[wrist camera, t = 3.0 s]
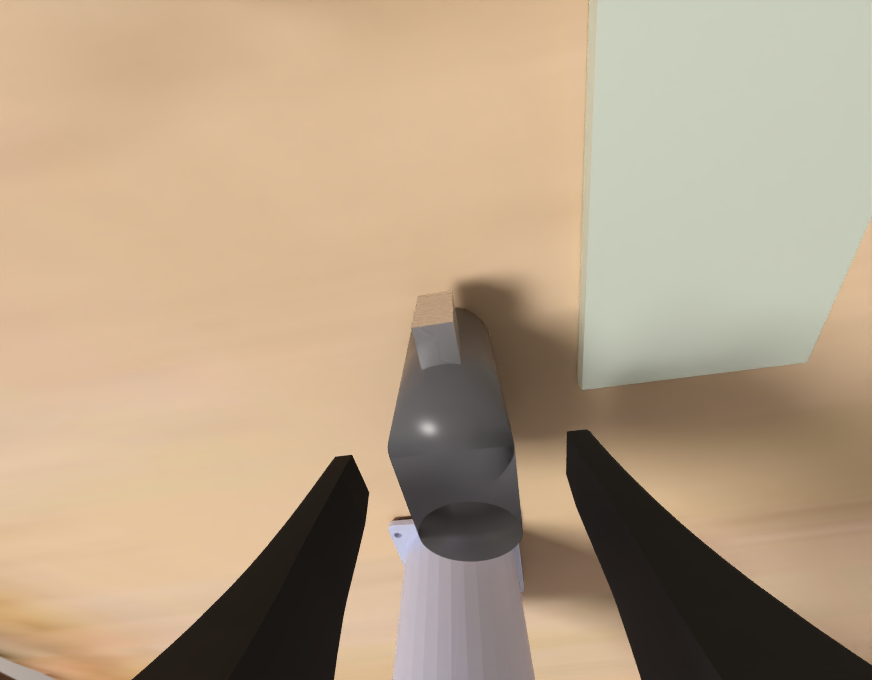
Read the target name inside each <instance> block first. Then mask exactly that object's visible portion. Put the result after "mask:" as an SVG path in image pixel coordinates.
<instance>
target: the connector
mask: <svg viewBox="0 0 872 680" xmlns="http://www.w3.org/2000/svg"><path fill="white" fill-rule="evenodd" d="M411 329H412V332H411V335H410V340H409V345H408V349H407V354H406V359H405V364H404V369H403V374H402V378H401V383H400V388H399V393H398V398H397V402H396V407H395V412H394V417H393V422H392V427H391V431H390V436H389V441H388V454H389V457H390V460H391V463H392V466H393V468H394V471H395V474H396V476H397V479H398V482H399V484H400V487H401V490H402V492H403V495H404V498H405V501H406V503H407V506H408V509H409V511H410V514H411V517H412V519H413V522H414V525H415V527H416V530H417V533H418V535H419V538H420V540H421V542H422V543H423V545H424V546H425V547H426V548H427V549H429V550H430V551H431V552H433V553H435V554H437V555H439V556H441V557H444V558H447V559H451V560H456V561H465V562H477V561H485V560H490V559H494V558H497V557H500V556H502V555H504V554H506V553H508V552H510V551H511V550H512V549H514V548H515V547H516V546H517V545H518V543H519V542H520V540H521V538H522V534H523V529H522V519H521V509H520V499H519V489H518V478H517V468H516V458H515V448H514V442H513V437H512V433H511V428H510V424H509V420H508V415H507V411H506V407H505V403H504V398H503V394H502V390H501V385H500V381H499V377H498V373H497V368H496V364H495V360H494V355H493V351H492V347H491V343H490V338H489V334H488V331H487V328H486V327H485V325H484V323H483V322H482V321H481V320H480V319H479V318H478V317H477V316H476V315H474V314H473V313H471V312H469V311H467V310H464V309H461V308H455V305H454V299H453V293H452V291H447V292H441V293H434V294H428V295H422V296H418V298H417V303H416V308H415V312H414V317H413V322H412V327H411Z"/></svg>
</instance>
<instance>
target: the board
mask: <svg viewBox="0 0 872 680" xmlns="http://www.w3.org/2000/svg"><path fill="white" fill-rule="evenodd" d="M871 217H872V0H589V20H588V52H587V84H586V117H585V149H584V181H583V214H582V246H581V278H580V311H579V343H578V376H577V382H578V384H579V386H580V388H581V389H582V390H588V389H596V388H604V387H612V386H620V385H628V384H637V383H645V382H653V381H661V380H669V379H677V378H685V377H693V376H702V375H710V374H718V373H726V372H734V371H742V370H750V369H758V368H767V367H775V366H783V365H791V364H799V363H807V361H808V359H809V357H810V355H811V352H812V350H813V348H814V346H815V343H816V341H817V339H818V337H819V334H820V332H821V330H822V328H823V325H824V323H825V321H826V319H827V316H828V314H829V312H830V310H831V307H832V305H833V303H834V301H835V298H836V296H837V294H838V292H839V289H840V287H841V285H842V283H843V280H844V278H845V276H846V274H847V271H848V269H849V267H850V265H851V262H852V260H853V258H854V256H855V253H856V251H857V249H858V247H859V244H860V242H861V240H862V237H863V235H864V233H865V231H866V228H867V226H868V224H869V222H870V219H871Z"/></svg>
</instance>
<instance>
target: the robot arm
mask: <svg viewBox="0 0 872 680" xmlns="http://www.w3.org/2000/svg"><path fill="white" fill-rule="evenodd" d="M566 475H567V478H568V481H569V485H570V488H571V491H572V495H573V498H574V501H575V504H576V507H577V510H578V512H579V514H580V517H581V519H582V522H583V524H584V526H585V529H586V531H587V534H588V536H589V538H590V541H591V543H592V545H593V548H594V550H595V553H596V555H597V557H598V560H599V562H600V564H601V567H602V569H603V571H604V574H605V576H606V578H607V581H608V583H609V586H610V588H611V591H612V593H613V596H614V599H615V601H616V604H617V607H618V610H619V613H620V616H621V619H622V622H623V625H624V628H625V631H626V634H627V637H628V640H629V643H630V646H631V649H632V652H633V655H634V658H635V661H636V664H637V667H638V671H639V674H640V677H641V680H872V665H871V664H869V663H868V662H866V661H865V660H863V659H862V658H860V657H859V656H857V655H856V654H854V653H853V652H851V651H850V650H848V649H847V648H845V647H844V646H842V645H841V644H840V643H838V642H837V641H835V640H834V639H832V638H831V637H829V636H828V635H826V634H825V633H824V632H822V631H821V630H819V629H818V628H816V627H815V626H813V625H812V624H810V623H809V622H808V621H806V620H805V619H804V618H802V617H801V616H799V615H798V614H797V613H795V612H794V611H793V610H791V609H790V608H788V607H787V606H786V605H784V604H783V603H782V602H780V601H779V600H777V599H776V598H775V597H773V596H772V595H771V594H769V593H768V592H766V591H765V590H764V589H762V588H761V587H760V586H758V585H757V584H755V583H754V582H753V581H751V580H750V579H749V578H747V577H746V576H745V575H744V574H742V573H741V572H740V571H739V570H737V569H736V568H735V567H733V566H732V565H731V564H730V563H728V562H727V561H726V560H724V559H723V558H722V557H721V556H719V555H718V554H717V553H716V552H715V551H713V550H712V549H711V548H710V547H708V546H707V545H706V544H705V543H704V542H702V541H701V540H700V539H699V538H698V537H696V536H695V535H694V534H693V533H692V532H691V531H689V530H688V529H687V528H686V527H685V526H684V525H682V524H681V523H680V522H679V521H678V520H677V519H676V518H675V517H673V516H672V515H671V514H670V513H669V512H668V511H667V510H666V509H665V508H664V507H662V506H661V505H660V504H659V503H658V502H657V501H656V500H655V499H654V498H653V497H652V496H651V495H650V494H649V493H648V492H647V491H646V490H645V489H644V488H643V487H641V486H640V485H639V484H638V483H637V482H636V481H635V480H634V479H633V478H632V477H631V476H630V475H629V474H628V473H627V472H626V471H625V470H624V469H623V467H622V466H621V465H620V464H619V463H618V462H617V461H616V460H615V459H614V458H613V457H612V456H611V455H610V454H609V453H608V451H607V450H606V449H605V448H604V447H603V446H602V445H601V444H600V443H599V441H598V440H597V439H596V438H595V437H594V436H593V435H592V433H591V432H590V431H588V430H577V431H568V432H567V458H566ZM368 497H369V491H368V489H367V487H366V484H365V482H364V480H363V478H362V476H361V473H360V471H359V469H358V467H357V465H356V463H355V460H354V458H353V456H352V455H347V456H338V457H335V458H334V459H333V461H332V462H331V463H330V465H329V466H328V467H327V469H326V470H325V471H324V473H323V474H322V475H321V477H320V478H319V480H318V481H317V482H316V484H315V485H314V486H313V488H312V489H311V491H310V492H309V493H308V495H307V496H306V497H305V499H304V500H303V501H302V503H301V504H300V505H299V507H298V508H297V509H296V511H295V512H294V513H293V514H292V516H291V517H290V518H289V520H288V521H287V522H286V523H285V525H284V526H283V527H282V528H281V530H280V531H279V532H278V533H277V535H276V536H275V537H274V538H273V539H272V541H271V542H270V543H269V544H268V546H267V547H266V548H265V549H264V550H263V552H262V553H261V554H260V555H259V556H258V557H257V558H256V560H255V561H254V562H253V563H252V564H251V565H250V566H249V568H248V569H247V570H246V571H245V572H244V573H243V574H242V575H241V576H240V577H239V578H238V579H237V581H236V582H235V583H234V584H233V585H232V586H231V587H230V588H229V589H228V590H227V591H226V592H225V593H224V594H223V595H222V596H221V597H220V598H219V599H218V600H217V601H216V602H215V603H214V604H213V605H212V606H211V607H210V608H209V609H208V610H207V611H206V612H205V613H204V614H203V615H202V616H201V617H200V618H199V619H198V620H197V621H196V622H195V623H194V624H193V625H192V626H191V627H190V628H189V629H188V630H187V631H185V632H184V633H183V634H182V635H181V636H180V637H179V638H178V639H177V640H176V641H175V642H174V643H173V644H171V645H170V646H169V647H168V648H167V649H166V650H165V651H164V652H163V653H161V654H160V655H159V656H158V657H157V658H156V659H155V660H154V661H153V662H151V663H150V664H149V665H148V666H147V667H146V668H145V669H143V670H142V671H141V672H140V673H139V674H138V675H137V676H135V677H134V678H133V679H132V680H334V675H335V667H336V660H337V653H338V647H339V641H340V634H341V628H342V622H343V616H344V611H345V606H346V601H347V597H348V593H349V589H350V585H351V581H352V577H353V572H354V568H355V564H356V560H357V556H358V552H359V548H360V544H361V540H362V535H363V531H364V527H365V521H366V514H367V506H368ZM388 531H389V533H390V535H391V538H392V540H393V542H394V544H395V547H396V549H397V551H398V553H399V556H400V558H401V560H402V562H403V565H404V575H403V585H402V594H401V604H400V613H399V623H398V632H397V641H396V651H395V660H394V670H393V679H392V680H535V676H534V670H533V664H532V658H531V652H530V646H529V640H528V634H527V628H526V622H525V616H524V610H523V604H522V598H521V593H522V592H523V591H524V583H523V574H522V565H521V556H520V547H519V543H518V545H517V546H516V547H515V548H514V549H512V550H511V551H510V552H508V553H506V554H504V555H502V556H500V557H497V558H494V559H490V560H485V561H477V562H465V561H456V560H451V559H447V558H444V557H441V556H439V555H437V554H435V553H433V552H431V551H430V550H429V549H427V548H426V547H425V546H424V545H423V543H422V542H421V540H420V538H419V535H418V533H417V530H416V527H415V525H414V522H413V519H407V520H395V521H392V522H390V523H389V527H388Z"/></svg>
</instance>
